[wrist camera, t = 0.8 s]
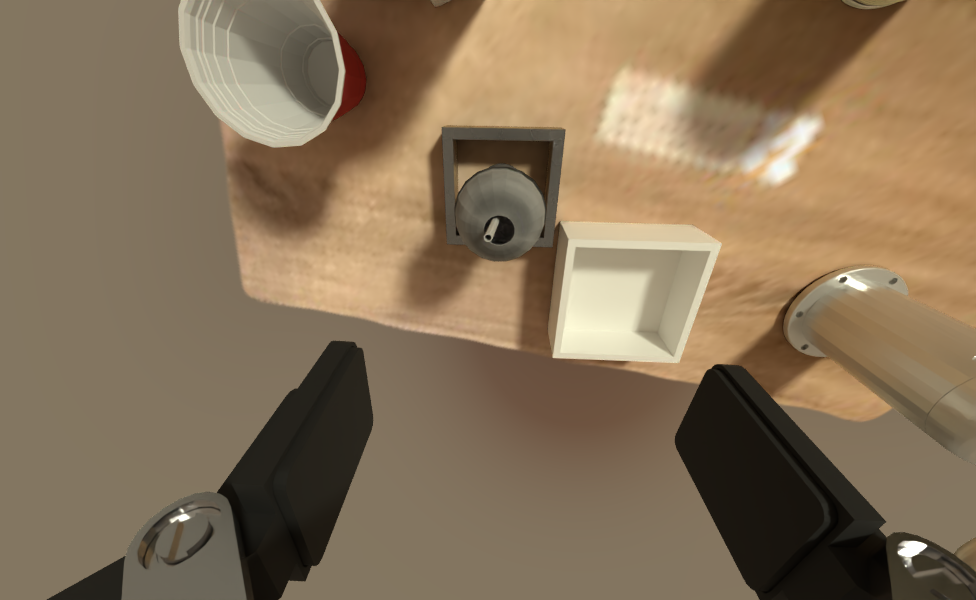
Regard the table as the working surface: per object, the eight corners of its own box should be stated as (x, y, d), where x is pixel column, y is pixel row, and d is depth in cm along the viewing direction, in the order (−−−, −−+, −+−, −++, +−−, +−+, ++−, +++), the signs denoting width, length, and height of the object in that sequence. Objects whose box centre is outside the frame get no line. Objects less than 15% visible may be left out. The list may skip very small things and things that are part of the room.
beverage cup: (487, 229, 40) (473, 326, 23) (455, 170, 37) (410, 229, 20) (546, 200, 38) (581, 280, 21) (517, 135, 35) (528, 164, 18)
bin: (692, 224, 39) (722, 243, 33) (659, 333, 46) (678, 362, 40) (560, 221, 39) (568, 239, 34) (547, 329, 46) (552, 357, 41)
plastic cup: (393, 9, 31) (334, -42, 20) (394, 142, 36) (348, 157, 25) (268, -10, 30) (144, -70, 20) (288, 127, 36) (198, 137, 25)
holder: (560, 127, 34) (565, 129, 32) (549, 238, 40) (552, 247, 37) (446, 125, 35) (441, 127, 32) (450, 235, 40) (447, 244, 38)
